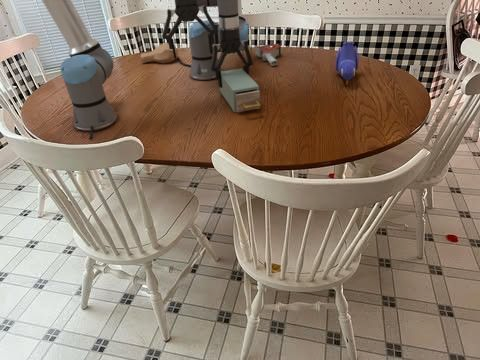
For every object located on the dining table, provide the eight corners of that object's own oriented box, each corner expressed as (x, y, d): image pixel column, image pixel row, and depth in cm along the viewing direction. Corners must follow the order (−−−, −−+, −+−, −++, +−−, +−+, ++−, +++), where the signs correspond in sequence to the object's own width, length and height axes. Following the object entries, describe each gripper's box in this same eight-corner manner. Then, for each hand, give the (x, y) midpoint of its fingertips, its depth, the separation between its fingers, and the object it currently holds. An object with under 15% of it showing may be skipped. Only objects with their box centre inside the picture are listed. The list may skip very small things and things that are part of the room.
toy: (333, 78, 167) (335, 88, 145) (335, 40, 160) (337, 44, 138) (355, 78, 165) (360, 87, 142) (358, 39, 158) (364, 43, 136)
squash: (179, 63, 185) (174, 47, 178) (142, 70, 187) (136, 55, 180) (180, 53, 192) (175, 37, 186) (145, 60, 194) (139, 45, 188)
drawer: (264, 113, 130) (264, 96, 126) (241, 118, 128) (240, 100, 124) (244, 89, 149) (243, 73, 145) (223, 92, 148) (222, 77, 144)
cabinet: (259, 107, 136) (258, 86, 131) (234, 112, 134) (232, 90, 129) (242, 88, 153) (241, 68, 148) (220, 91, 151) (218, 71, 146)
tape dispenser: (274, 70, 173) (292, 55, 185) (274, 59, 169) (292, 45, 182) (243, 64, 180) (262, 50, 193) (243, 53, 177) (262, 40, 189)
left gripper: (218, -14, 125) (224, 48, 138) (147, -6, 122) (159, 56, 134) (222, -11, 119) (227, 53, 132) (147, -3, 116) (160, 62, 128)
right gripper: (254, 22, 140) (255, 77, 153) (198, 29, 135) (204, 85, 148) (260, 26, 134) (261, 83, 147) (202, 34, 129) (208, 92, 142)
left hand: (193, 55), depth 133 cm, fingers open, 13 cm apart
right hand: (233, 84), depth 148 cm, fingers closed on cabinet, 10 cm apart
